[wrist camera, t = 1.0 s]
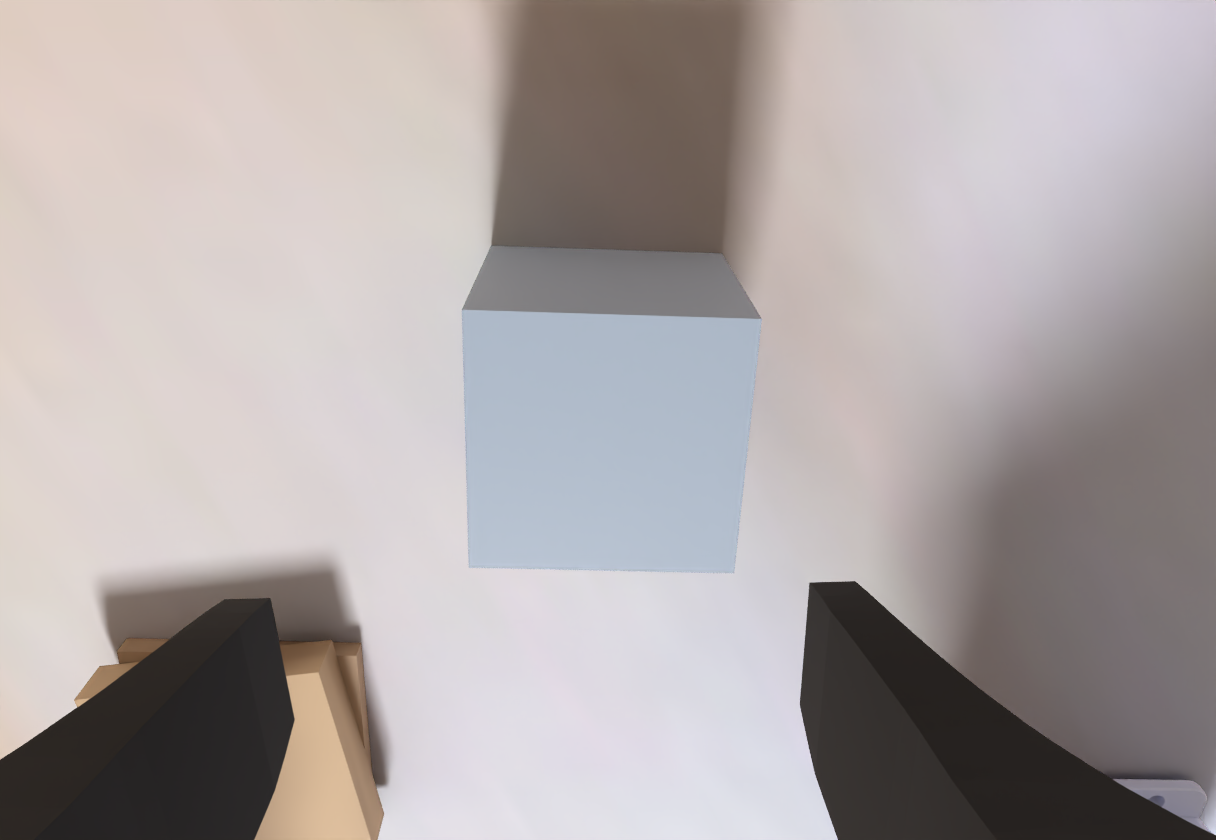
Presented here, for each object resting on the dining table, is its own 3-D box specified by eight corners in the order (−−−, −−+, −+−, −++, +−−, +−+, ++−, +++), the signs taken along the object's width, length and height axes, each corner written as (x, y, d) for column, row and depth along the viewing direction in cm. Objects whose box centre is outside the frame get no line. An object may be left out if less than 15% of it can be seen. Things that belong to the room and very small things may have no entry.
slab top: (331, 639, 23) (318, 671, 22) (383, 813, 25) (374, 851, 24) (99, 666, 23) (74, 700, 22) (173, 836, 25) (154, 874, 24)
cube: (721, 252, 20) (761, 319, 15) (703, 458, 22) (734, 573, 17) (491, 244, 20) (461, 310, 15) (494, 453, 22) (468, 567, 17)
